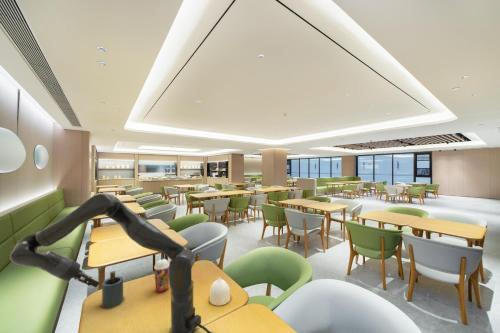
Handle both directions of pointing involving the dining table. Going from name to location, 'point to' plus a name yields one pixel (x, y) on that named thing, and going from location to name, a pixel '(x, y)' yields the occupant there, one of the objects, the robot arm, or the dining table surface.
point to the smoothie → (162, 275)
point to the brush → (112, 277)
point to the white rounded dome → (219, 292)
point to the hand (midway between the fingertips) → (94, 282)
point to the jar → (112, 292)
